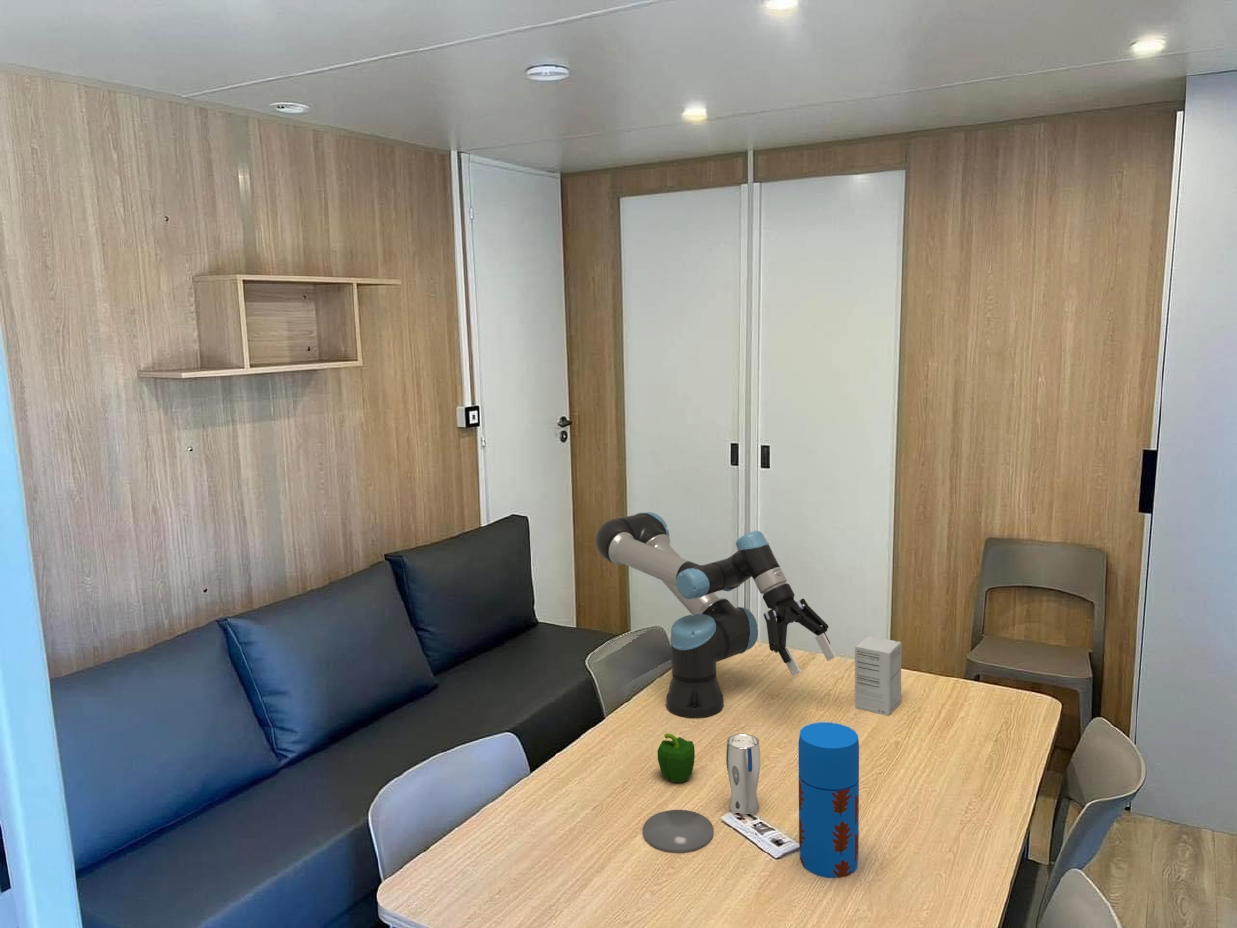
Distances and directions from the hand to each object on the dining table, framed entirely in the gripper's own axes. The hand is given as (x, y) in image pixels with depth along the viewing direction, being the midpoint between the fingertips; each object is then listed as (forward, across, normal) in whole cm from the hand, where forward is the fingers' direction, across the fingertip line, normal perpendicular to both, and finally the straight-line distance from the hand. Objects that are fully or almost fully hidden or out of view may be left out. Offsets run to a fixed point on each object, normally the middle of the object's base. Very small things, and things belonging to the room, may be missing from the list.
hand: (814, 666), depth 219 cm
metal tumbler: (+21, -41, -2) cm, 46 cm away
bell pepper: (+10, -42, +13) cm, 45 cm away
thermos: (+34, -43, -21) cm, 59 cm away
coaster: (+19, -57, 0) cm, 60 cm away
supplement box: (+15, +21, +6) cm, 26 cm away
